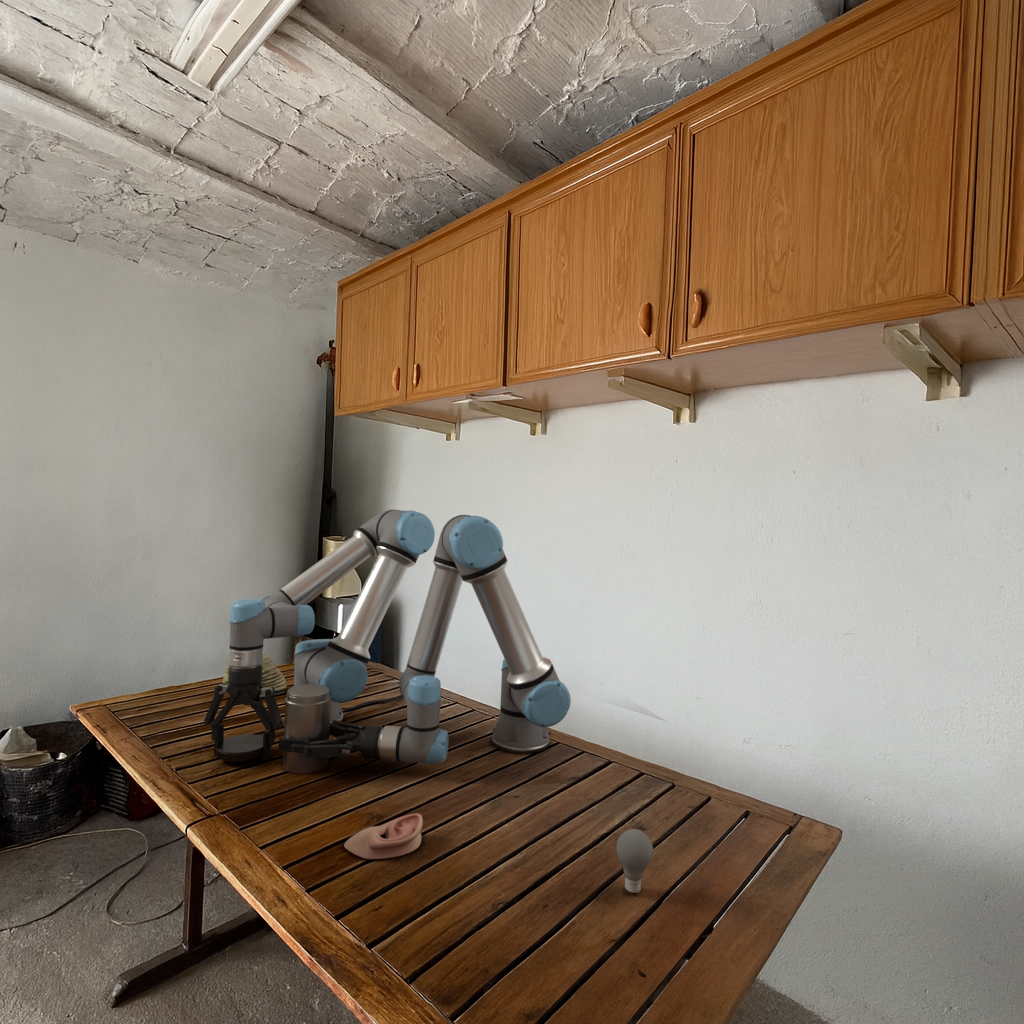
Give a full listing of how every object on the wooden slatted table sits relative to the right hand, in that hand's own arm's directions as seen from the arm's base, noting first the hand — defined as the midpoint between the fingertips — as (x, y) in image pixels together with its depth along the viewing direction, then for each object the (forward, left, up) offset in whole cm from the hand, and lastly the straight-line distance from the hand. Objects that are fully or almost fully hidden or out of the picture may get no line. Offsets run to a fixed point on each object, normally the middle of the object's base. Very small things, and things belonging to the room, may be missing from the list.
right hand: (289, 735), depth 150 cm
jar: (-4, +2, -6) cm, 8 cm away
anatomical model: (-16, +41, -6) cm, 45 cm away
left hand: (+10, -6, -6) cm, 13 cm away
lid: (+10, -6, -3) cm, 12 cm away
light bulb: (-53, +67, -6) cm, 86 cm away
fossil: (+9, -55, -6) cm, 56 cm away
